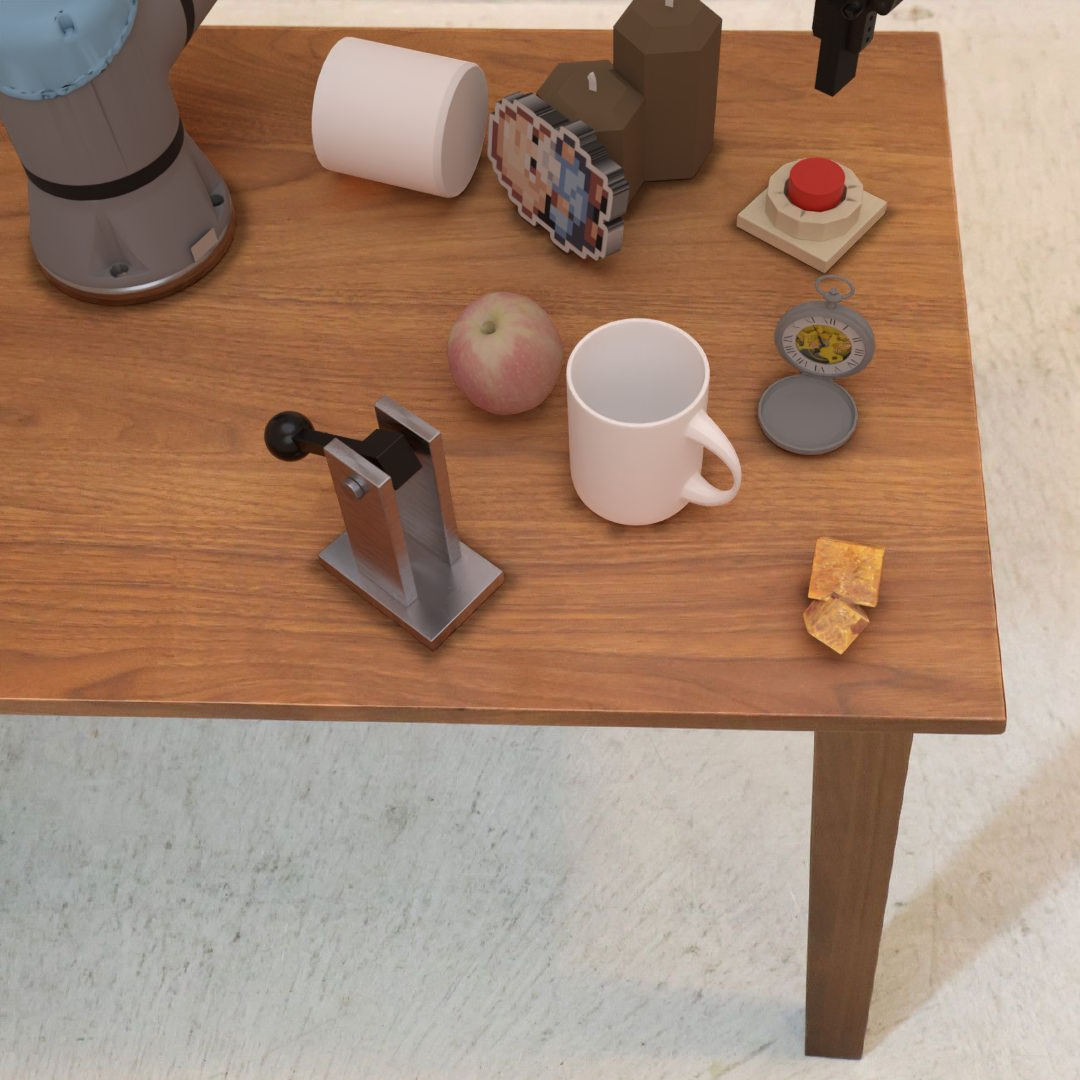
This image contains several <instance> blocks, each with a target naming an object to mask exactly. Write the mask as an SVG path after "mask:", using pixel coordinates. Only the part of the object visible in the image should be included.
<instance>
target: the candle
mask: <svg viewBox="0 0 1080 1080" xmlns="http://www.w3.org/2000/svg"><path fill="white" fill-rule="evenodd" d="M722 29H723V18H722V17H721V16H720V15H718V14H717V13H716V12H715V11H714V10H712V9H711V8H710V7H709V6H708V5H707V4H705V3H704V2H703V1H701V0H632V1H631V2H630V3H629V4H628V6H627V7H626V8H625V10H624V11H623V12H622V14H621V15H620V17H619V18H618V20H617V21H616V22H615V24H613V26H612V45H613V46H612V50H613V51H612V55H613V56H612V61H610V60H609V59H600V60H585V61H570V62H569V61H568V62H560V63H557V64H556V65H555V67H554V69H553V70H552V71H551V72H550V74H549V75H548V76H547V78H546V79H545V80H544V82H543V83H542V84H541V86H539V88H538V90H537V91H536V92H535V95H536V96H538V97H539V98H540V99H542V100H543V101H545V102H546V103H547V104H549V105H550V106H551V107H552V108H553V110H557V111H558V112H560V113H561V114H562V115H564V116H565V117H566V118H568V119H569V120H570V122H572V121H574V120H577V119H580V120H581V121H582V122H584V123H585V124H587V125H588V126H590V127H591V128H592V129H594V131H595V132H596V137H597V141H598V142H600V143H601V144H602V145H604V146H605V147H606V149H607V151H608V157H609V158H610V159H611V160H613V161H614V162H615V163H617V164H618V165H619V166H620V167H622V168H623V169H624V172H625V173H624V178H625V180H626V181H627V182H628V183H629V195H628V203H627V207H628V205H629V204H630V203H631V201H632V199H633V198H634V197H635V196H636V194H637V192H638V191H639V189H640V188H641V186H642V185H643V183H644V182H654V181H655V182H656V181H667V180H668V181H669V180H683V179H693V178H694V177H695V176H696V174H697V172H698V171H699V170H700V168H701V166H702V164H703V163H704V161H705V160H706V158H707V157H708V155H709V154H710V152H712V149H713V147H714V139H715V138H714V137H715V124H716V110H717V97H718V86H719V85H718V84H719V72H720V71H719V70H720V58H721V57H720V56H721V44H722V31H723V30H722Z"/></svg>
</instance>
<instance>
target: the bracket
mask: <svg viewBox="0 0 1080 1080" xmlns="http://www.w3.org/2000/svg"><path fill="white" fill-rule="evenodd" d="M373 408H374V412H375V416H376V422H377V425H378V429H381V430H386V431H391V432H395V433H400V434H404V436H405V438H406V439H407V441H408V443H409V444H410V446H411V448H412V449H413V451H414V453H415V454H416V456H417V458H418V459H419V461H420V463H421V464H422V466H423V467H422V468H421V469H420V470H419V471H418V472H417V473H415V474H414V475H413V476H412V477H411V478H410V479H409V480H408V481H407V482H406V483H404V484H403V485H402V486H401V487H400V488H399V489H398V490H394V488H393V484H392V479H391V477H390V476H389V475H388V474H386V473H385V472H383V471H382V470H381V469H379V468H378V467H376V466H375V465H373V464H372V463H371V462H369V461H368V460H366V459H365V458H364V457H362V456H361V455H359V454H358V453H357V452H355V451H354V450H352V449H351V448H349V447H348V446H347V445H345V444H344V443H342V442H341V441H340V440H338V439H337V438H334V439H333V440H332V441H331V442H330V443H328V444H327V445H326V446H325V447H324V448H323V449H324V453H325V456H326V457H325V459H326V463H327V467H328V471H329V473H330V478H331V481H332V484H333V488H334V492H335V495H336V499H337V502H338V506H339V509H340V513H341V516H342V519H343V524H344V526H345V530H344V531H343V532H342V533H341V534H339V535H338V536H337V537H336V538H335V539H333V541H332V542H330V543H329V544H328V545H327V546H326V547H325V548H324V549H323V550H322V551H321V552H319V553H318V554H317V558H318V560H319V564H320V566H321V567H322V568H324V569H325V570H326V571H328V572H329V573H330V574H332V575H333V576H334V577H336V578H337V579H338V580H339V581H341V582H342V583H344V584H345V585H346V587H347V586H348V587H349V588H350V589H351V590H353V591H354V592H355V593H356V594H358V595H359V596H361V598H363V599H364V600H365V601H367V602H368V603H370V604H371V605H372V606H373V607H375V608H376V609H377V610H379V611H380V612H381V613H383V615H385V616H386V617H388V618H389V619H391V620H392V621H393V622H394V623H396V624H397V625H398V626H399V627H401V628H402V629H404V630H405V632H407V633H409V634H410V635H411V636H413V637H414V638H415V639H416V640H418V641H419V642H420V643H422V644H423V645H425V647H427V648H428V649H430V650H431V651H432V652H434V651H435V650H436V649H437V648H438V647H439V646H441V644H442V643H444V641H446V639H448V638H449V636H451V634H453V633H454V632H455V631H456V630H457V629H458V628H459V627H460V626H461V625H462V624H463V623H464V622H465V621H466V620H467V619H468V618H469V617H470V616H471V615H472V614H473V613H474V612H475V611H476V610H477V609H478V608H479V607H480V606H481V605H482V604H483V603H484V602H485V601H486V600H487V599H488V598H489V597H490V596H491V595H492V594H493V593H494V592H495V591H496V590H497V589H498V588H500V586H501V585H502V584H504V582H505V575H504V571H503V570H502V569H500V568H499V567H498V566H496V565H495V564H493V562H490V561H489V560H488V559H486V558H485V557H483V556H482V555H481V554H480V553H478V552H477V551H476V550H474V549H473V548H471V547H470V546H468V545H467V544H466V543H464V542H462V541H461V540H460V539H459V532H458V525H457V520H456V514H455V508H454V502H453V496H452V490H451V484H450V478H449V472H448V466H447V461H446V460H447V459H446V455H445V447H444V441H443V436H442V432H441V430H439V429H437V428H436V427H434V426H433V425H432V424H430V423H428V422H427V421H426V420H424V419H423V418H421V417H420V416H418V415H417V414H415V413H414V412H412V411H411V410H410V409H407V407H405V406H404V405H402V404H400V403H399V402H398V401H396V400H395V399H393V398H392V397H390V396H388V395H387V394H384V395H382V396H381V397H380V398H379V399H378V400H376V402H374V404H373Z"/></svg>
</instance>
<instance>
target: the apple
mask: <svg viewBox="0 0 1080 1080" xmlns="http://www.w3.org/2000/svg"><path fill="white" fill-rule="evenodd" d="M446 346H447V347H446V352H447V353H446V355H447V361H448V365H449V369H450V374H451V376H452V379H453V381H454V383H455V384H456V386H457V388H458V389H459V390H460V392H461V393H462V394H463V396H464V397H466V398H467V400H468V401H470V403H472V404H473V405H474V406H475V407H478V408H479V409H481V410H483V411H486V412H488V413H491V414H496V415H503V416H505V415H514V414H515V415H516V414H520V413H523V412H527V411H531V410H532V409H535V408H537V407H538V406H539V405H541V404H542V403H543V402H544V401H545V400H546V399H547V398H548V397H549V395H551V393H552V392H553V390H554V388H555V386H557V383H558V381H559V378H560V375H561V371H562V368H563V363H564V352H565V351H564V344H563V341H562V338H561V335H560V333H559V331H558V329H557V327H556V324H555V323H554V321H553V319H552V318H551V317H550V316H549V314H548V313H547V312H546V311H545V310H544V309H543V308H542V307H541V306H540V305H539V304H537V302H535V301H534V300H532V299H530V298H529V297H527V296H525V295H522V294H520V293H517V292H512V291H493V292H489V293H485V294H483V295H481V296H479V297H477V298H476V299H474V300H473V301H472V302H471V303H469V304H468V305H467V306H466V307H465V308H464V309H463V311H462V312H460V314H458V316H457V318H456V319H455V321H454V322H453V324H452V326H451V329H450V331H449V335H448V339H447V345H446Z"/></svg>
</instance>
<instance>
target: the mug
mask: <svg viewBox="0 0 1080 1080" xmlns="http://www.w3.org/2000/svg"><path fill="white" fill-rule="evenodd" d="M565 376H566V377H565V378H566V381H565V382H566V403H567V424H568V449H569V450H568V451H569V468H570V476H571V480H572V485H573V487H574V489H575V492H576V495H577V496H578V497H579V499H580V500H581V502H583V504H584V505H585V506H586V507H587V508H588V509H589V510H591V512H593V513H594V514H596V515H598V516H599V517H601V518H603V519H604V520H607V521H610V522H612V523H615V524H620V525H624V526H625V525H626V526H647V525H648V526H649V525H653V524H656V523H660V522H662V521H664V520H665V521H666V520H668V519H670V518H671V517H673V516H674V515H676V514H677V513H679V512H680V511H682V510H683V509H684V508H685V507H686V506H687V505H688V504H689V503H691V504H693V505H699V506H704V507H719V506H723V505H726V504H729V503H730V502H731V501H732V500H733V499H735V497H736V496H737V494H738V493H739V491H740V488H741V486H742V485H741V484H742V478H743V474H742V473H743V472H742V466H741V463H740V459H739V456H738V454H737V452H736V449H735V448H734V446H733V444H732V443H731V441H730V440H729V438H728V437H727V436H726V434H725V433H724V432H723V431H722V429H721V428H720V427H719V426H718V425H717V423H716V422H714V420H713V419H712V418H711V417H710V415H708V402H709V390H710V389H709V388H710V379H711V368H710V363H709V359H708V357H707V355H706V353H705V350H704V349H703V348H702V346H701V345H700V344H699V343H698V341H697V340H696V339H695V338H694V337H693V336H691V335H690V334H689V333H688V332H686V331H685V330H684V329H682V328H680V327H678V326H675V325H674V324H671V323H669V322H666V321H663V320H658V319H652V318H645V317H644V318H643V317H641V318H640V317H634V318H624V319H618V320H615V321H610V322H608V323H606V324H603V325H600V326H598V327H597V328H595V329H593V330H591V331H590V332H589V333H587V334H585V336H584V337H583V338H582V339H580V340H579V341H578V342H577V344H576V345H575V346H574V348H573V350H572V351H571V353H570V355H569V358H568V360H567V364H566V371H565ZM704 448H705V449H707V450H708V451H710V452H712V454H714V455H716V457H718V458H719V459H720V461H722V462H723V463H724V465H726V466H727V468H728V469H729V471H730V472H731V474H732V477H733V485H732V487H731V488H730V489H728V490H722V489H719V488H717V487H715V486H713V485H712V484H711V483H709V481H707V480H706V479H705V478H704V477H703V475H702V468H703V461H704V460H703V458H704Z"/></svg>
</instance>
